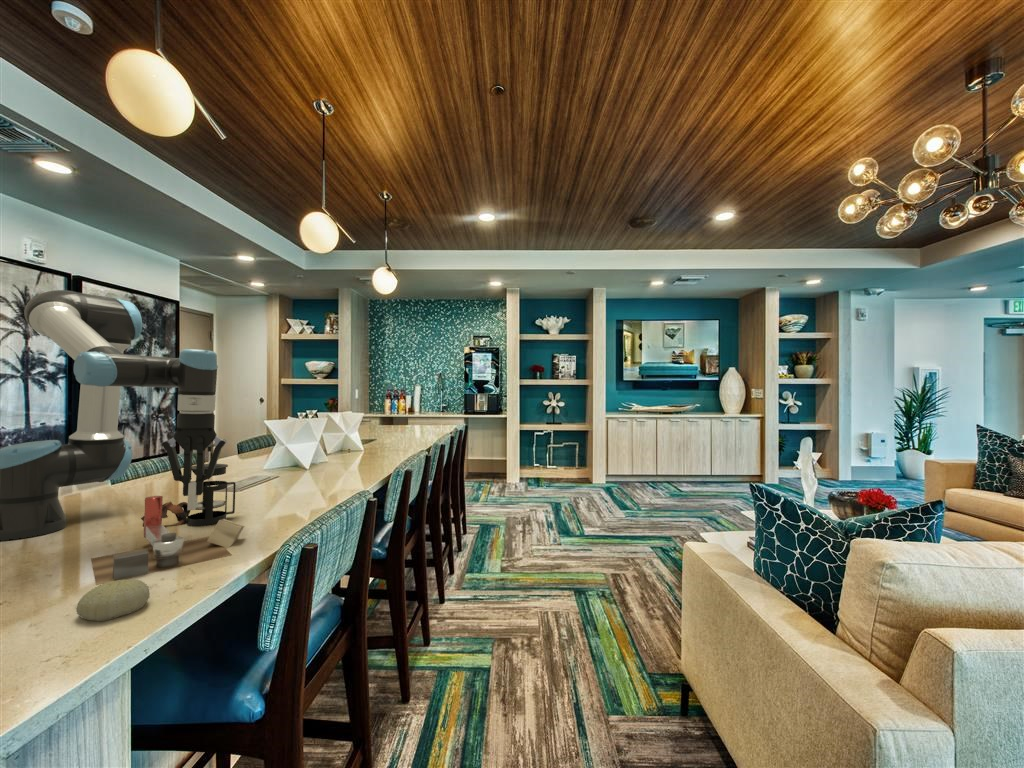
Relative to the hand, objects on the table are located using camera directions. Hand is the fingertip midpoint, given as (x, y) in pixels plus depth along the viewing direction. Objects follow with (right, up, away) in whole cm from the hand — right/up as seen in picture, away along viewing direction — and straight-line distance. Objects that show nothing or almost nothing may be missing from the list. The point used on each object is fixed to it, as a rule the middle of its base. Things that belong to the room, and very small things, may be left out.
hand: (192, 508), depth 106 cm
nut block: (+9, -8, -3) cm, 12 cm away
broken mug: (-16, -9, +13) cm, 23 cm away
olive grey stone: (+10, -9, -32) cm, 34 cm away
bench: (+2, -9, -11) cm, 14 cm away
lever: (0, -5, -10) cm, 11 cm away
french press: (-6, -10, +15) cm, 19 cm away
